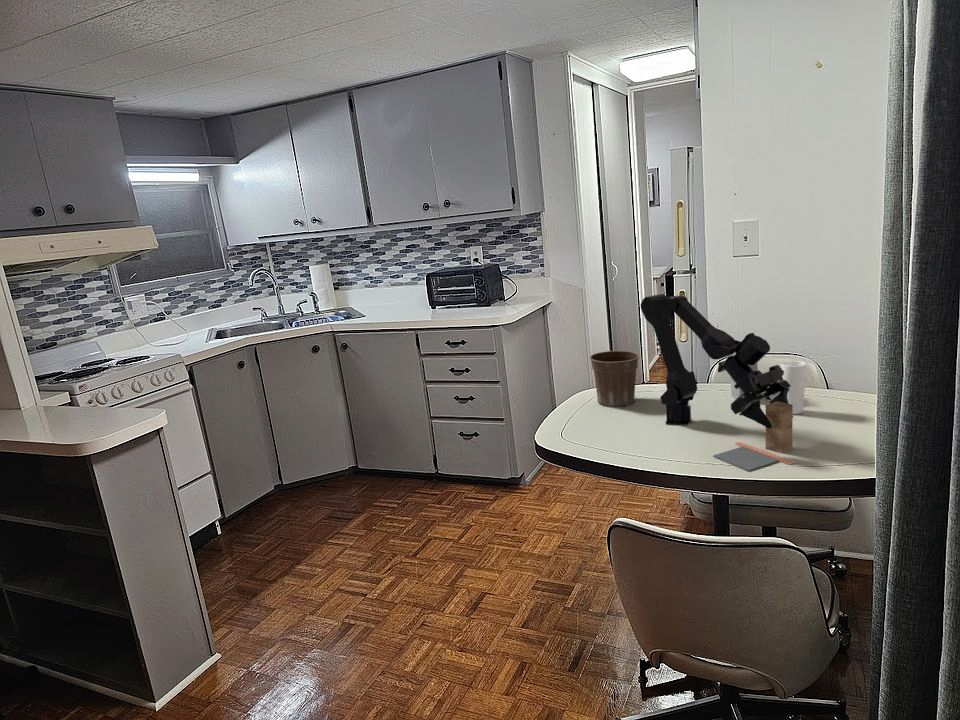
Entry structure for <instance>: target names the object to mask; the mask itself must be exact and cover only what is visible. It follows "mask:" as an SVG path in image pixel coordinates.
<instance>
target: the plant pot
mask: <svg viewBox="0 0 960 720" xmlns="http://www.w3.org/2000/svg"><path fill="white" fill-rule="evenodd" d="M639 359H640V354H638V353H636V352H635V351H629V350H608V351H607V350H606V351H601V352H596V353H593V354H591V355H590V356H589V360H591V367H592V368H591V369H592V370H593V374H594V381H595V389H596V397H597V403H598V404H600V405H602V406H605V407H609V408H611V407H613V408H616V407H617V408H618V407H624V406H626V405H627V406H630V405H632V404H633V403H634V402H635V393H636V377H637V368H638V365H639V364H638V362H639Z"/></svg>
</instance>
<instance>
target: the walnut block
mask: <svg viewBox="0 0 960 720" xmlns="http://www.w3.org/2000/svg"><path fill="white" fill-rule="evenodd" d="M765 415H766V417H767V418H768V420H769V421H770V423H771V424H772V427H771V428H767V427H765V450H767V451H772V452H776V453H779V454H783V453H785V452H788V451H790V450H792V449H793V418H794V414H793V405H792V404H787V403H783V402H778V401H775V402H773V403H768V404H766V405H765Z"/></svg>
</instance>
